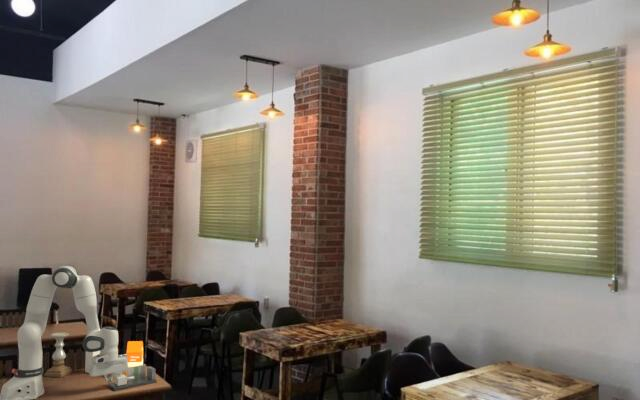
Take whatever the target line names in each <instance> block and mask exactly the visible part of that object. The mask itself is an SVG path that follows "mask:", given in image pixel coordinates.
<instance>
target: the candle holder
mask: <svg viewBox="0 0 640 400" xmlns="http://www.w3.org/2000/svg"><path fill="white" fill-rule="evenodd" d="M49 335H50V337H51V338H54V340H55V341H56V342H55V344H54V347H55V348H56V349H55V351H54V352H53V354H52V356H51V357H52V358H51V359H52V360H53V362H52V364H53V366H51V368H47V369H46V372H44V377H49V378H51V377H52V378H64V377H65V376H68V375H69V374H71V373H72V372H73V369H72V368H71V366H66V365H65V358H66V357H67V355H66V353H65V351H64V349H63V347H64V346H65V343H64V339H65V338H66V337H69V335H70V333H69V332H64V331H60V332H59V331H58V332H53V333H50V334H49Z"/></svg>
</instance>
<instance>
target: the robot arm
mask: <svg viewBox="0 0 640 400" xmlns="http://www.w3.org/2000/svg"><path fill="white" fill-rule="evenodd" d="M57 288H61V289H71V290H72V292H73V293H72V294H73V299H74V303H75V304H74V305H75V307H76V309H77V311H79V312H81V313H82V314H83V315H84V318H85V322H86V327H87V334H86V336H85V338H84V339H83V341H82V344H81V345H82V348H83V350H84V351H85V352H86V351H87V352H96V351H100V350H101V351H100V354H98V355H96V356H94V357H92V361H93V362H92V363H91V365H90V370H89V373H88V374H89V376H91V377H92V378H95V377H101V376H103V378H104V379H105V383H113V379H114V373H117V372H123V371H127V369H128V362H127V361H128V356H127V355H126V353H122V354H119V347H118V346H119V331H118V329H117V328H116V327H114V326H109V325H108V326H104V327H100V321H99V318H98V311H97V308H98V306H97V305H98V299H97V293H96V288H95V284H94V281H93V279H92V277H91V276H89V275H87V274H86V275H79V274H78V270H77V269H76V267H75V266H73V265H71V264H64V265H61V266H59V267H58V268H56V269H55V270H54V271H53V273H52V274H41V275H39V276H38V277H37V278H36V281H35V283H34V285H33V287H32V289H31V292H30V295H29V299H28V302H27V305H26V312H25V317H24V322H23V324H22V325H21V326H20V327H19V328H18V331H17V334H16V335H17V336H16V337H17V338H16V339H17V347H18V368H17V369H16V368H12V370H11V373H12V374H13V376H12V378H10V379H9V380H8V381H6V382H5V383H3V385H2V387H1V389H0V400H35V399H38V398H39V397H41V396H42V395H44V394H45V388H44V383H43V382H44V381H43V376H44V365H43V356H44V355H43V346H42V336H43V335H44V333H45V331H46V328H47V323H48V319H49V314H50V309H51V306H52V303H53V299H54V297H55V296H54V295H55V292H56V290H57ZM108 375H110V377H108Z"/></svg>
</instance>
